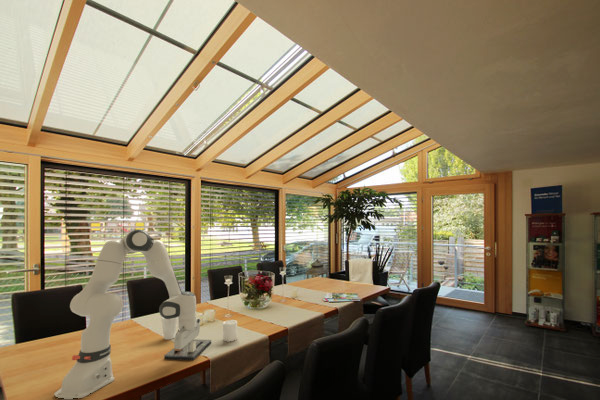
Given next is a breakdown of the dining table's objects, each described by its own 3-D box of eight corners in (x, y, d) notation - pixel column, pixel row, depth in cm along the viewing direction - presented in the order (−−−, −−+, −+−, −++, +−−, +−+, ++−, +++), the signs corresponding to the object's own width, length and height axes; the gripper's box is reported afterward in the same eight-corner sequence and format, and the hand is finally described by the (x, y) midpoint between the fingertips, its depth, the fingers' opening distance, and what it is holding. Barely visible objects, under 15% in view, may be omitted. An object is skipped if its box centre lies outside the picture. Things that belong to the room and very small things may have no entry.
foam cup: (157, 339, 186) (158, 317, 187) (168, 334, 195) (168, 313, 196) (170, 341, 183) (171, 318, 184) (181, 335, 192) (181, 314, 193)
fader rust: (179, 352, 163) (179, 342, 164) (174, 352, 164) (174, 342, 164) (182, 349, 167) (182, 339, 167) (177, 349, 167) (177, 339, 168)
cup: (224, 342, 179) (224, 325, 180) (221, 336, 190) (221, 319, 191) (238, 340, 182) (238, 323, 183) (234, 333, 193) (234, 317, 194)
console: (193, 360, 157) (193, 356, 157) (164, 359, 159) (164, 355, 159) (211, 343, 178) (211, 339, 179) (185, 342, 180) (185, 339, 181)
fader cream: (192, 353, 161) (192, 343, 162) (187, 353, 162) (187, 343, 162) (195, 351, 165) (195, 341, 165) (190, 350, 165) (190, 340, 165)
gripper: (183, 330, 149) (182, 360, 148) (201, 317, 169) (201, 343, 168) (170, 330, 150) (170, 359, 149) (191, 317, 170) (190, 343, 169)
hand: (187, 351), depth 158 cm, fingers closed
